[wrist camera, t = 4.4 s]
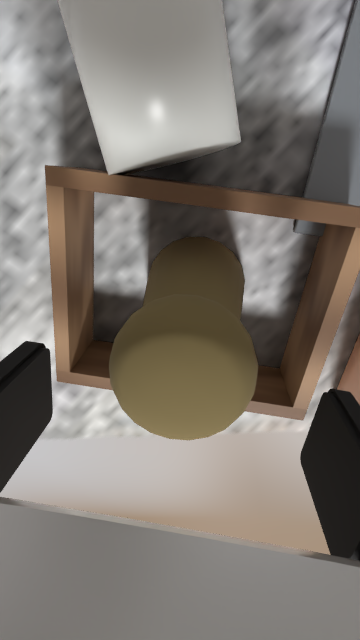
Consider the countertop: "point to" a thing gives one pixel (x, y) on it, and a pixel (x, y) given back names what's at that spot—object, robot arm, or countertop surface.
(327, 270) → the walnut open frame
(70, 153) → the countertop surface
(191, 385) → the pepper shaker
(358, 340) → the copper open box
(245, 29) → the countertop surface
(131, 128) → the white plastic tumbler
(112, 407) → the countertop surface
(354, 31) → the slate coaster
